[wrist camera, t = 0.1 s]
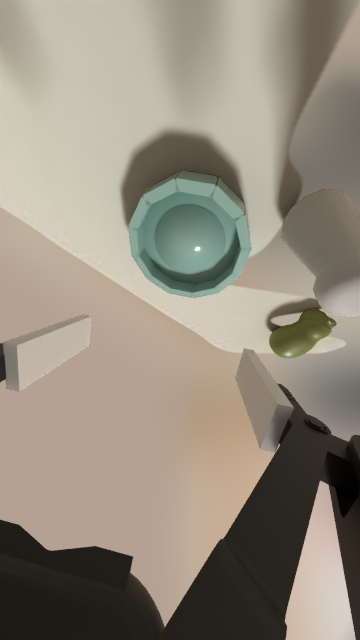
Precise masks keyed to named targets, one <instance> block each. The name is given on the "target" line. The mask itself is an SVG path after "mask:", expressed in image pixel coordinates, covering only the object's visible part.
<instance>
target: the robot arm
mask: <svg viewBox="0 0 360 640" xmlns="http://www.w3.org/2000/svg"><path fill="white" fill-rule="evenodd" d="M90 330H91V316H88V315H80V316H78V317H74V318H71V319H68V320H66V321H63V322H60V323H57V324H54V325H51V326H48V327H46V328H43V329H40V330H37V331H34V332H31V333H29V334H26V335H23V336H20V337H17V338H14V339H11V340H9V341H6V342H3V343H1V344H0V382H1V381H3V380H5V379H6V388H7V389H10V390H14V391H19V392H20V391H21V390H23V389H24V388H26V387H27V386H29V385H30V384H32V383H33V382H35V381H37V380H38V379H40V378H41V377H42V376H44V375H46V374H47V373H49V372H50V371H52V370H53V369H55V368H56V367H58V366H59V365H61V364H62V363H64V362H65V361H67V360H68V359H70V358H72V357H73V356H75V355H76V354H78V353H79V352H81V351H82V350H83V349H85V348H87V347H88V346H90ZM235 378H236V381H237V383H238V386H239V390H240V392H241V395H242V398H243V401H244V404H245V407H246V409H247V413H248V415H249V418H250V421H251V424H252V427H253V430H254V432H255V435H256V438H257V441H258V444H259V447H260V449H263V450H267V451H271V452H276V450H277V447H278V445H279V443H280V447H279V448H278V450H277V452H276V453H275V455H274V457H273V458H272V460H271V462H270V463H269V465H268V466H267V468H266V470H265V472H264V473H263V475H262V476H261V478H260V480H259V481H258V483H257V485H256V486H255V488H254V490H253V491H252V493H251V495H250V496H249V498H248V500H247V501H246V503H245V505H244V506H243V508H242V509H241V511H240V513H239V514H238V516H237V518H236V519H235V521H234V523H233V524H232V526H231V528H230V529H229V531H228V533H227V534H226V536H225V537H224V538H223V539H221V540H220V541H219V542H218V543H217V545H216V547H215V548H214V549H213V551H212V553H211V554H210V556H209V557H208V559H207V561H206V562H205V564H204V566H203V567H202V569H201V570H200V572H199V573H198V575H197V577H196V578H195V580H194V582H193V583H192V585H191V586H190V588H189V590H188V591H187V593H186V594H185V596H184V598H183V599H182V601H181V602H180V604H179V606H178V607H177V609H176V610H175V612H174V614H173V615H172V617H171V619H170V620H169V622H168V623H167V625H166V627H164V624H163V621H162V619H161V616H160V613H159V611H158V609H157V607H156V605H155V603H154V601H153V599H152V597H151V596H150V594H149V593H148V591H147V590H146V588H145V587H144V586H143V585H142V584H141V582H140V581H139V580H138V579H137V578H136V577H135V576H133V575H132V574H131V573H130V570H131V565H132V559H133V557H132V556H129V555H125V554H122V553H118V552H114V551H111V550H107V549H103V548H100V547H96V546H93V547H83V548H75V549H65V550H57V551H49V550H47V549H45V548H44V547H43V546H42V545H41V544H40V543H39V542H38V541H37V540H35V539H34V538H33V537H32V536H31V535H30V534H29V533H28V532H27V531H25V530H24V529H23V528H22V527H21V526H20V525H17V524H14V523H10V522H6V521H3V520H0V640H285V639H286V631H287V625H286V623H285V615H286V611H287V606H288V602H289V599H290V595H291V590H292V587H293V583H294V579H295V575H296V571H297V567H298V564H299V559H300V556H301V551H302V548H303V544H304V540H305V536H306V532H307V528H308V525H309V520H310V516H311V512H312V509H313V505H314V501H315V497H316V493H317V490H318V486H319V482H320V480H321V481H323V482H325V483H327V484H328V485H329V489H330V495H331V500H332V506H333V512H334V518H335V522H336V529H337V535H338V540H339V545H340V552H341V557H342V563H343V569H344V575H345V580H346V586H347V591H348V597H349V602H350V608H351V614H352V620H353V626H354V631H355V637H356V640H360V436H359V435H354V436H352V437H351V439H350V441H349V442H347V441H345V440H343V439H340V438H338V437H336V436H333V435H331V431H330V430H329V428H328V427H327V426H326V425H325V424H324V423H323V422H321V421H320V420H318V419H317V418H314V417H312V416H310V415H307V414H306V413H305V411H304V410H303V409H302V408H301V406H300V405H299V404H298V402H297V401H296V400H295V398H294V397H292V395H291V393H290V392H289V391H288V389H286V388H285V387H284V386H282V385H281V384H277V383H276V382H275V380H274V379H273V377H272V376H271V375H270V373H269V372H268V371H267V369H266V368H265V366H264V365H263V363H262V362H261V360H260V359H259V358H258V356H257V355H256V353H255V352H254V350H249V349H245V348H244V350H243V354H242V357H241V360H240V364H239V367H238V371H237V374H236V377H235Z"/></svg>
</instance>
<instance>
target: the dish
mask: <svg viewBox="0 0 360 640" xmlns="http://www.w3.org/2000/svg"><path fill="white" fill-rule="evenodd" d="M217 177H218V176H213V175H207V174H201V173H195V172H189V171H183V170H182V171H179V172H178V173H176V174H174V175H172V176H170V177H168V178H167V179H165V180H163V181H161V182H159V183H157V184H156V185H154V186H152V187H151V188H150V189H149V190H148V191H147V192H146V193H145V194H144V195H143V196H142V197H141V199H140V201H139V203H138V206H137V208H136V210H135V212H134V214H133V216H132V218H131V221H130V223H129V225H128V230H129V238H130V246H131V254H132V255H133V256H132V257H133V259H134V260H135V262H136V263H137V265H138V266H139V268H140V269H141V271H142V272H143V274H144V275H145V277H146V278H148V280H149V281H151V282H152V283H154V284H155V285H157V286H158V287H160V288H162V289H163V290H165V291H166V292H168V293H170V294H175V295H180V296H185V297H190V298H197V297H202V296H207V295H211V294H216V293H219V292H220V291H222V290H223V289H224V288H226V287H227V286H228V285H229V284H231V283H232V282H233V281H235V280H236V279H237V278H239V276H240V274H241V272H242V270H243V267H244V265H245V262H246V260H247V258H248V255H249V253H250V251H251V242H250V234H249V229H248V223H247V217H246V211H245V206H244V203H243V202H242V201H241V199H240V198H239V197H238V196H237V195H236V194H235V193H234V192H233V191H232V190H231V189H230V188H229V187H228V186H227V185H226V184H225V183H224V182H223V181H222V180H221V179H220V178H218V179H217Z"/></svg>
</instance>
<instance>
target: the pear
mask: <svg viewBox="0 0 360 640" xmlns="http://www.w3.org/2000/svg"><path fill="white" fill-rule="evenodd" d="M334 326H336V321H335V320H333V319H332V318H329V317H328V316H327V315H326V314H325V313H324V312H322V311H320V310H318V309H317V308H314V309H310V310H307V311H305V312H303V313H302V314H301V316H300V319H299V320H298V321H297V322H296V323H294V324H291V325H286V326H282V327H279V328H277V329H276V330H274V331H273V332H272V334H271V335H270V338H269V344H270V347H271V349H272V350H273V351H274V353H276V354H277V355H278V356H280V357H283V358H295V357H298V356H300V355H303V354H305V353H306V352H308V351H309V350H311V349H312V348H313V347H314V345H315V344H316V343H317V342H318V341H319V340H320V339H323V338H325V337H326V336H328V335H329V334H330V333H331V329H332V328H333V327H334Z"/></svg>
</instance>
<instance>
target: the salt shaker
mask: <svg viewBox="0 0 360 640" xmlns="http://www.w3.org/2000/svg"><path fill="white" fill-rule="evenodd" d="M281 238H282V240H283V242H284V245H285V247H286V248H287V249H288V250H289V251H290V252H291V253H292V254H293V255H294V256H295V257H296V258H297V259H298V260H299V261H300V262H301V263H302V264H303V265H304V266H305V267H306V268H307V269H308V270H309V271H310V272H311V273H312V274H313V275H314V276H315V277H316V281H315V284H314V287H313V290H314V294H315V296H316V299H317V301H318V303H319V305H320V306H321V307H322V308H323V310H325V311H327V312H329V313H331V314H332V315H339V316H349V317H353V316H360V215H359V213H358V210H357V208H356V206H355V203H354V200H353V198H351V197H350V196H348V195H347V194H345V193H344V192H342V191H340V190H325V189H323V190H320V191H317V192H315V193H313V194H310V195H308V196H306V197H304V198H303V199H302V200H301V201H300V202H298V203H297V204H295V205H294V206H293V207H292V208H291V209H290V211H289V213H288V214H287V216H286V218H285V220H284V221H283V225H282V232H281Z"/></svg>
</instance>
